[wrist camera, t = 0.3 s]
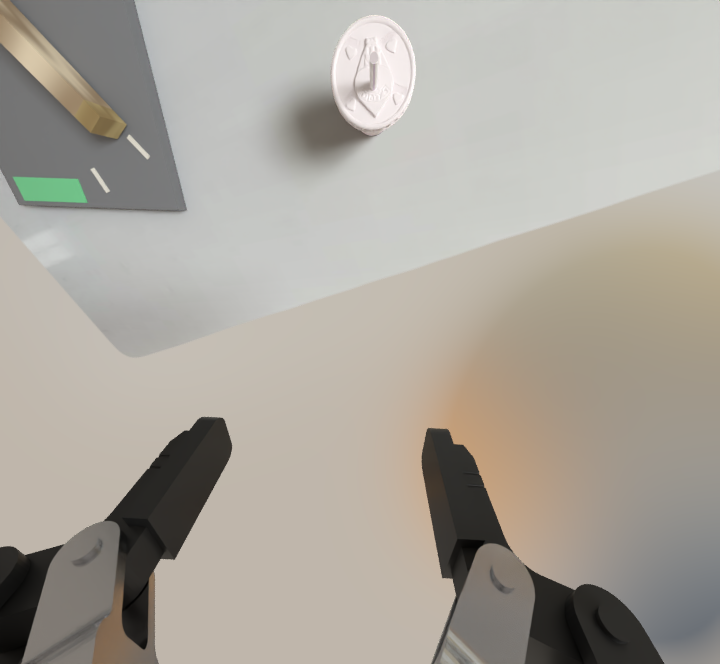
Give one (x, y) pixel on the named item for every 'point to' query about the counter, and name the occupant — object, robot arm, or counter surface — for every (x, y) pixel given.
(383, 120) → the smoothie
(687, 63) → the counter surface
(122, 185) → the dial plate
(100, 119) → the dial lever
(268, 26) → the counter surface
